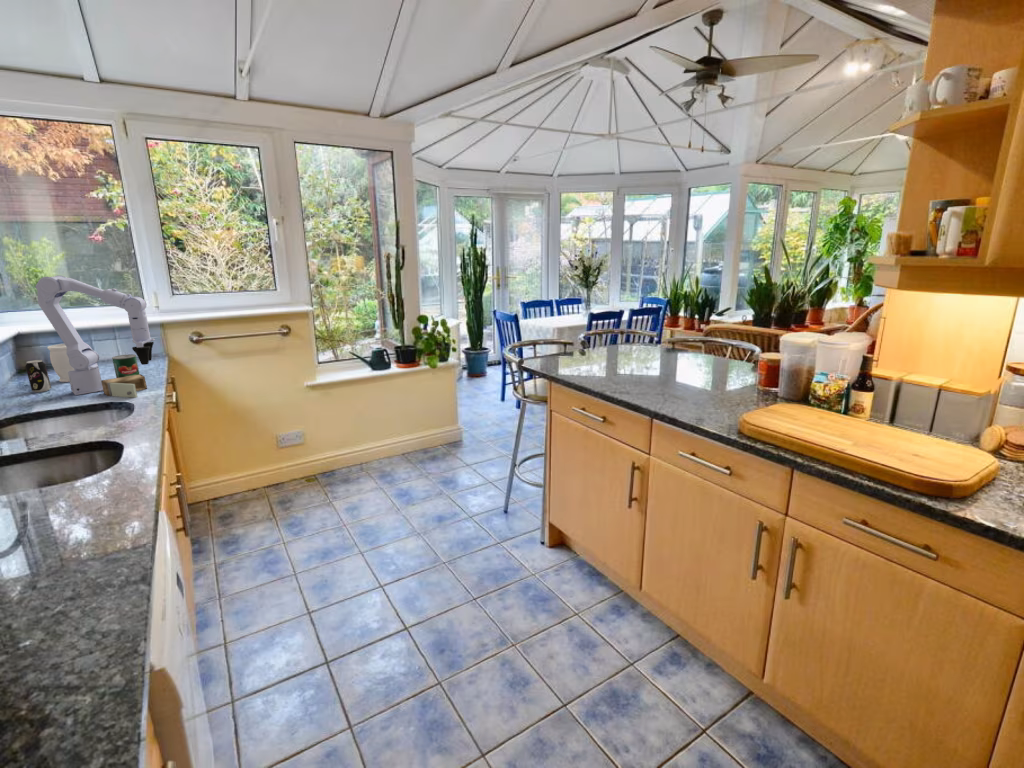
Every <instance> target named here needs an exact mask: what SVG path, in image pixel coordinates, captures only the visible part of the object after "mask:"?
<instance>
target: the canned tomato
mask: <svg viewBox="0 0 1024 768" xmlns="http://www.w3.org/2000/svg"><path fill="white" fill-rule="evenodd" d="M111 360H112V363H113V369H114V373H115V378H120V377H127V376H133V375H139V374H140V370H139V365H138V360H137V354H119V355H116V356H113V357H111Z"/></svg>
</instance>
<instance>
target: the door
mask: <svg viewBox="0 0 1024 768" xmlns="http://www.w3.org/2000/svg"><path fill="white" fill-rule="evenodd" d="M107 385H108V389H109V394H110V396H109V397H117V398H118V397H120V398H138V393H137V391H136V388H135V384H125V383H107Z"/></svg>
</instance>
